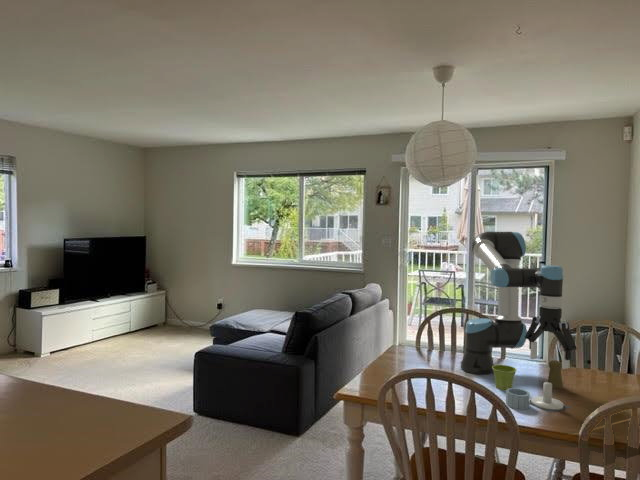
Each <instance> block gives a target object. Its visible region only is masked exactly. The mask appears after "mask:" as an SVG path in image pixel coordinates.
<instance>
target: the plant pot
mask: <svg viewBox="0 0 640 480" xmlns="http://www.w3.org/2000/svg"><path fill="white" fill-rule="evenodd" d="M492 369H493V372H494V373H493V374H494V383H495V388H496V389H498V390H500V391H506V390H507V389H510V388H513V384H514V377H515V374H516V372H517V368H516V367H513V366H511V365H506V364H494V366H492Z"/></svg>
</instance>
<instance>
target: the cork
mask: <svg viewBox="0 0 640 480" xmlns="http://www.w3.org/2000/svg"><path fill="white" fill-rule="evenodd" d="M548 367H549V373H548V377H547V378H548V379H547V382H549V383H552V389H561V390H563V389H564V387H563V385H564V384H563V378H562V377H563V375H562V370H563V369H562V361H559V360H555V359H553V360H550V361H549V362H548Z"/></svg>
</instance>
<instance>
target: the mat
mask: <svg viewBox="0 0 640 480" xmlns="http://www.w3.org/2000/svg"><path fill="white" fill-rule="evenodd" d="M530 406H532V407H535V408H537V409H540V410H542V411H543V412H546V413H549V414H552V413H556V412H561V411H565V410H568V409H573V407H571V406H569V405H566V404H564V407H563V409H561V410H547V409H542V408H539V407H536V406H534V405H533V404H532V403H531V399H530Z"/></svg>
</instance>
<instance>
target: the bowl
mask: <svg viewBox="0 0 640 480" xmlns="http://www.w3.org/2000/svg"><path fill="white" fill-rule="evenodd" d="M530 400H531V393H530V392H529V391H528V390H525V389H522V388H517V387H512V388H510V389H507V390H505V404H507V405H506V406H507V407H509V408H510V409H515V410H522V411H526V410H528V409H530V406H531V405H530Z"/></svg>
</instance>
